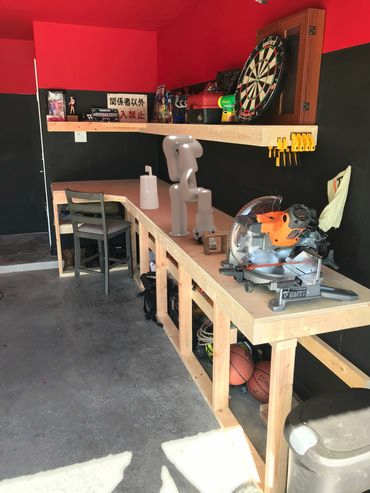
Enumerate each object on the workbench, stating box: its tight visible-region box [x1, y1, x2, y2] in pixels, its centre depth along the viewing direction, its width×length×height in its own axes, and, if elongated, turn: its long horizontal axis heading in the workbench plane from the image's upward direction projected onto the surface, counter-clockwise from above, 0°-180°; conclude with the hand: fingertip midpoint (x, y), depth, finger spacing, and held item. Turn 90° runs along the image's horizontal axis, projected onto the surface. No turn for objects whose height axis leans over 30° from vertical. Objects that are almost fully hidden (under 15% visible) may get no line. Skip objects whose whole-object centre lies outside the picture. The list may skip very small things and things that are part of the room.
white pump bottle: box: [139, 165, 160, 210], centre depth 343 cm, size 15×15×33 cm
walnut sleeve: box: [203, 232, 228, 256], centre depth 226 cm, size 4×12×10 cm, turn 106°
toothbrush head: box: [192, 233, 218, 250], centre depth 243 cm, size 5×7×25 cm
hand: (204, 242), depth 244 cm, fingers closed on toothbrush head, 5 cm apart
